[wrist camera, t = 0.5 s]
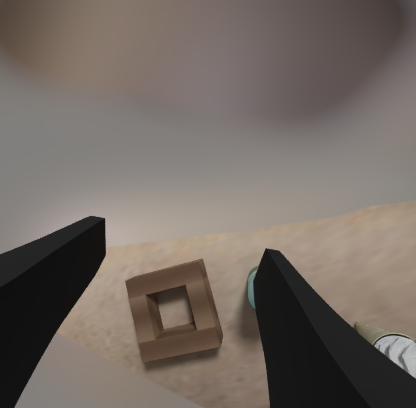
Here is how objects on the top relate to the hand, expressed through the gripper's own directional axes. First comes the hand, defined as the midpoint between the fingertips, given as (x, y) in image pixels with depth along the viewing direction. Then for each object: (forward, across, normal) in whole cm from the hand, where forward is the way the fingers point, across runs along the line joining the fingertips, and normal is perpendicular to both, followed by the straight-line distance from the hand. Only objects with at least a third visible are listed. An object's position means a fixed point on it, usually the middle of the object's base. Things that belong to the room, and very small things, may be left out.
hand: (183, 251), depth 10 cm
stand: (+15, 0, +22) cm, 27 cm away
